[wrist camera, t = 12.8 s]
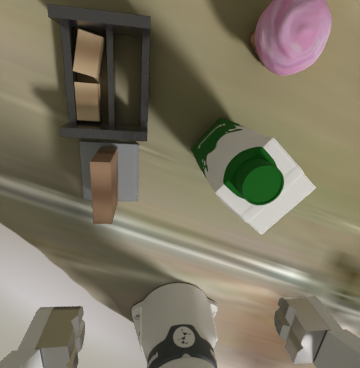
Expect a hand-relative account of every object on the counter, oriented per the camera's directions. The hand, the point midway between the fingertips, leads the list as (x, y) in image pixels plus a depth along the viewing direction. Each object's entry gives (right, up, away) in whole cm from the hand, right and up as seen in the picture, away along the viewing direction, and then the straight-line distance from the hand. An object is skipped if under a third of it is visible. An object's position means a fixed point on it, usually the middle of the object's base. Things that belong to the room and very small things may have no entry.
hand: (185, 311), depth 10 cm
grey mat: (-12, +7, +30) cm, 33 cm away
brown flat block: (-12, +7, +30) cm, 33 cm away
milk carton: (+7, +11, +31) cm, 34 cm away
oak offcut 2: (-13, +18, +26) cm, 34 cm away
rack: (-10, +20, +25) cm, 34 cm away
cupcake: (+13, +26, +26) cm, 39 cm away
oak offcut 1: (-13, +23, +24) cm, 36 cm away
